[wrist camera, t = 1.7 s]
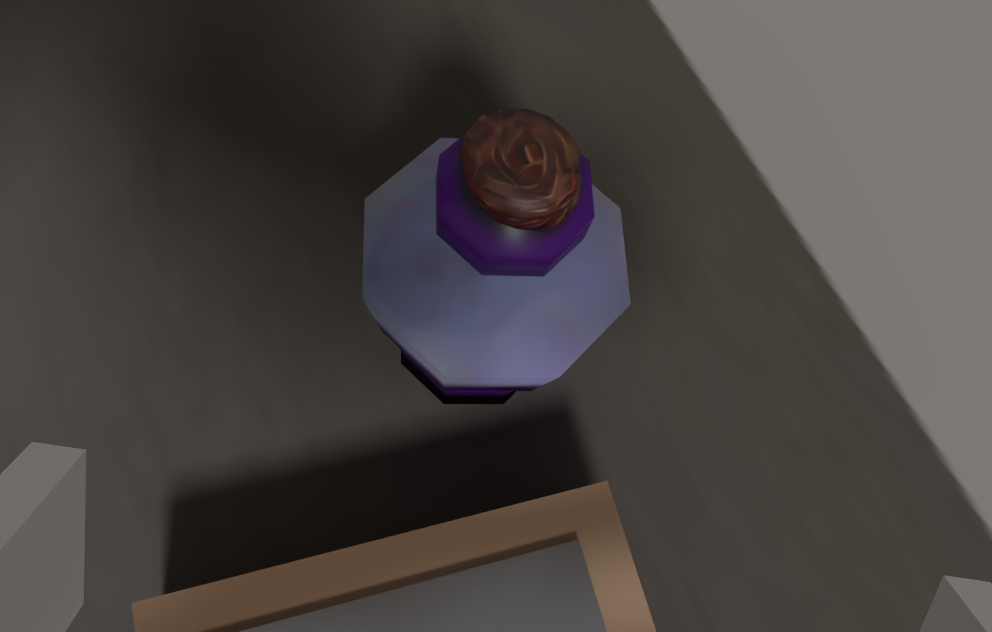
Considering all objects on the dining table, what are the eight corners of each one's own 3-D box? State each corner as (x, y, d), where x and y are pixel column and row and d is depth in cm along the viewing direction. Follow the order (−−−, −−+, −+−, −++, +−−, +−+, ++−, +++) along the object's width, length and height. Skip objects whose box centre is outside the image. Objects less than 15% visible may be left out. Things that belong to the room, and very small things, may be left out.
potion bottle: (624, 397, 33) (754, 246, 22) (408, 488, 31) (433, 368, 20) (526, 206, 36) (597, -13, 25) (319, 276, 33) (298, 67, 22)
